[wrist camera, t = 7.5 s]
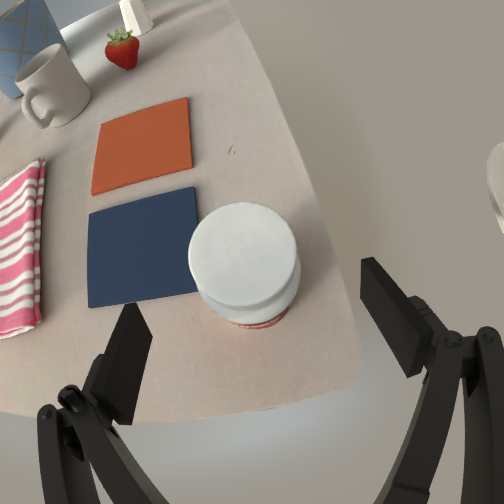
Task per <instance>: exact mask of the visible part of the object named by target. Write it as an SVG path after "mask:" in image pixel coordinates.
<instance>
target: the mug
mask: <svg viewBox="0 0 504 504" xmlns="http://www.w3.org/2000/svg"><path fill="white" fill-rule="evenodd" d="M15 84H16V85H17V86H18V88H19V89H20V90H21V91H22V93H23V94H24V96H23V99H22V103H21V106H22V110H23V113H24V114H25V116H26V118H27V119H28V120H29V121H30V122H31V123H32V124H33V125H34V126H35V127H37V128H40V129H44V128H46V127H48V126H49V125H50V126H52V127H60V126H63V125H65V124H67V123H69V122H70V121H72V120H73V119H74V118H75V117H77V116H78V115H79V114H80V113H81V112H82V111H83V110H84V108H85V107H86V106H87V104H88V103H89V101H90V98H91V90H90V88H89V87H88V85H87V84H86V82H85V81H84V80H83V78H82V77H81V75H80V73H79V72H78V70H77V69H76V67H75V65H74V64H73V62H72V61H71V59H70V57H69V56H68V54H67V53H66V51H65V49H64V48H63V46H62V45H61V44H60V43H57V44H53V45H51V46H49V47H47V48H46V49H44V50H42V51H41V52H40V53H38V54H37V55H36V56H34V57H33V58H32V59H31V60H30V61H29V62H28V63H27V64H26V65H25V66H24V67H23V68H22V69H21V71H20V72H19V74H18V75H17V77H16V79H15ZM31 103H32V105H33V106H34V107H35V108H36V109H37V111H38V112H39V113H40V114H41V115H42V117H43V119H42V120H41V119H40V118H38V117H37V116H36V114H35V113H34V111H33V110H32V107H31Z"/></svg>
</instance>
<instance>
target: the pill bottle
mask: <svg viewBox="0 0 504 504" xmlns="http://www.w3.org/2000/svg"><path fill="white" fill-rule="evenodd" d="M188 260H189V267H190V271H191V273H192V276H193V278H194V280H195V282H196V285H197V289H198V291H199V293H200V296H201V297H202V299H203V301H204V302H205V303H206V305H207V306H208V307H209V308H210V309H211V310H212V311H213V312H214V313H216V314H217V315H219V316H220V317H222V318H223V319H225V320H227V321H229V322H231V323H233V324H235V325H237V326H239V327H242V328H246V329H252V330H257V329H264V328H267V327H270V326H272V325H274V324H276V323H277V322H278V321H280V320H281V319H282V318H283V317H284V315H285V314H286V313H287V311H288V310H289V308H290V306H291V304H292V302H293V300H294V298H295V296H296V293H297V291H298V288H299V284H300V277H301V264H300V258H299V255H298V252H297V245H296V240H295V236H294V234H293V232H292V230H291V228H290V226H289V225H288V223H287V222H286V221H285V219H284V218H283V217H282V216H281V215H280V214H278V213H277V212H276V211H274V210H273V209H271V208H269V207H267V206H265V205H262V204H259V203H253V202H235V203H230V204H227V205H224V206H222V207H219V208H218V209H216V210H214V211H212V212H211V213H210V214H209V215H207V216H206V217H205V218H204V219H203V220H202V221H201V222H200V224H199V225H198V226H197V228H196V230H195V231H194V233H193V236H192V238H191V241H190V245H189V252H188Z"/></svg>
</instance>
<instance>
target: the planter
mask: <svg viewBox="0 0 504 504" xmlns="http://www.w3.org/2000/svg"><path fill="white" fill-rule="evenodd" d="M57 43H60V44H61V45H62V46H63V48H64V49H65V51H66V53H67V54H68V48H67V45H66V43H65V41H64V39H63V37H62V35H61V33H60V31H59V30H58V28H57V26H56V24H55V22H54V20H53V18H52V16H51V13H50V11H49V9H48V7H47V5H46V4H45V1H44V0H20V1H19V2H17V3H16V4H15V5H13V6H12V7H11V8H9V9H8V10H7V11H6V12H4V13H3V14H2V15H1V16H0V90H1V91H2V92H3V93H4V94H5V95H6V96H7V97H8V98H10V99H13V98H16V97H18V96H20V95H23V93H22V91H21V90H20V89H19V88H18V86H17V85H16V84H15V79H16V77H17V75H18V74H19V72H20V71H21V69H22V68H23V67H24V66H25V65H26V64H27V63H28V62H29V61H30V60H31V59H32V58H33V57H34V56H36V55H37V54H38V53H40V52H41V51H42V50H44V49H46V48H47V47H49V46H51V45H53V44H57Z"/></svg>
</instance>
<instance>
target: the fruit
mask: <svg viewBox="0 0 504 504" xmlns="http://www.w3.org/2000/svg"><path fill="white" fill-rule="evenodd" d="M124 32H125V31H124V29H123V28H122V29H121V34H120V33H119V32H118V31H117V30H116V31H115V35H116V36H117V37H116V36H113V35H110V34H108V37H109V38H111V39H112V41H110V42H108V43H107V44H108V45H107V46H106V48H105V54H106V57H107V58H108V60H109V61H111V62H113V63H114V64H116V65H117V66H119V67H121V68H123V69H131V68H133V67H134V66H135V65H136V64H137V59H138V49H139V40H138V39H137V38H136V37H134V36H132V35H131V34H132V32H133V30H130V31H129V32H127V33H126V34H125V35H124ZM113 38H115V39H113Z"/></svg>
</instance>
